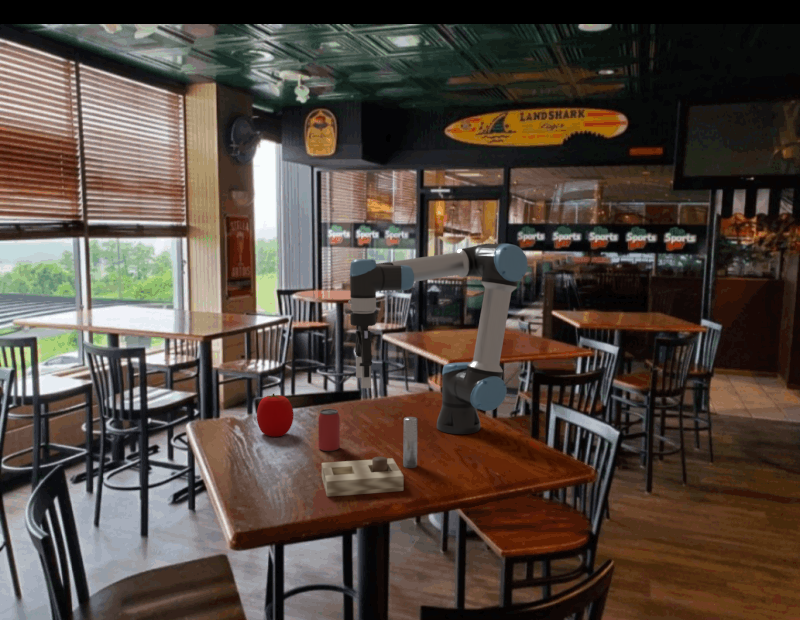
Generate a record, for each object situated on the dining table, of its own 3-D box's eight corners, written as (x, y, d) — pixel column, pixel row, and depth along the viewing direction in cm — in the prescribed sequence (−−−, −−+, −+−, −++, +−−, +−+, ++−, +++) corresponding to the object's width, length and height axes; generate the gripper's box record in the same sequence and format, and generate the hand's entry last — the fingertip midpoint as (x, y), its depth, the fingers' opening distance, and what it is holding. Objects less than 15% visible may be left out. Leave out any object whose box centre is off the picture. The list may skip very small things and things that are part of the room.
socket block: (392, 471, 183) (392, 449, 182) (403, 490, 169) (403, 466, 169) (321, 476, 179) (321, 454, 178) (326, 496, 165) (326, 472, 164)
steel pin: (415, 462, 190) (415, 416, 189) (418, 467, 186) (419, 420, 185) (401, 463, 190) (402, 417, 188) (404, 468, 186) (405, 421, 184)
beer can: (336, 452, 199) (336, 414, 197) (315, 451, 200) (315, 413, 199) (342, 446, 205) (342, 409, 204) (322, 444, 206) (322, 407, 205)
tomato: (249, 437, 213) (248, 395, 212) (268, 428, 224) (267, 387, 222) (281, 442, 209) (281, 399, 207) (300, 432, 219) (299, 391, 217)
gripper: (346, 307, 202) (346, 374, 204) (354, 317, 177) (355, 393, 180) (370, 307, 203) (370, 373, 205) (382, 316, 179) (381, 392, 181)
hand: (363, 382), depth 193 cm, fingers open, 13 cm apart
